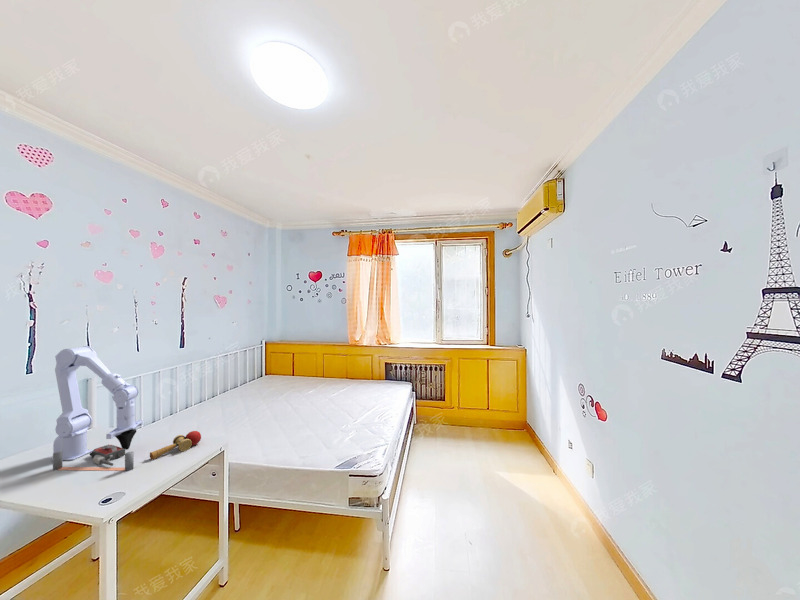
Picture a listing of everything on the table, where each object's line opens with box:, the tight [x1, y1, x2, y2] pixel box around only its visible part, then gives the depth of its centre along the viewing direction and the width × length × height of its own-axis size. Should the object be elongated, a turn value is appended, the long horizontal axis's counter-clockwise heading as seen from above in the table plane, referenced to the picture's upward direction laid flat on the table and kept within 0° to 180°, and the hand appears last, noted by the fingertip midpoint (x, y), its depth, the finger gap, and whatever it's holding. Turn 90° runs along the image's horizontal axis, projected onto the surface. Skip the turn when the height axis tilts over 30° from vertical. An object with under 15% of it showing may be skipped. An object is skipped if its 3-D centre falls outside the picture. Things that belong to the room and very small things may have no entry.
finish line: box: [52, 451, 135, 472], centre depth 115 cm, size 30×2×6 cm, turn 87°
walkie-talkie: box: [89, 444, 126, 467], centre depth 123 cm, size 9×4×20 cm
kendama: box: [149, 430, 202, 460], centre depth 129 cm, size 8×6×18 cm
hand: (125, 449), depth 128 cm, fingers closed
